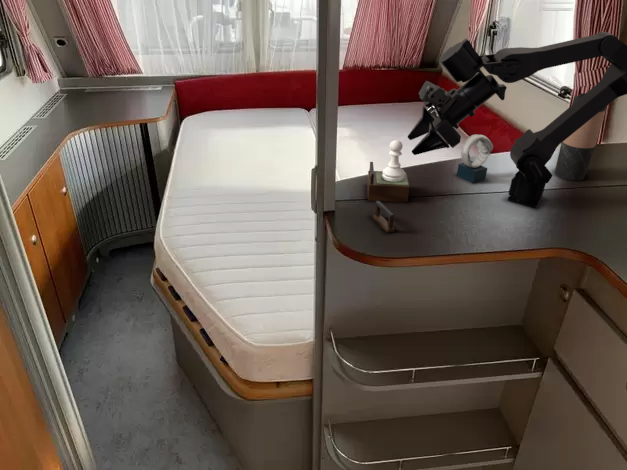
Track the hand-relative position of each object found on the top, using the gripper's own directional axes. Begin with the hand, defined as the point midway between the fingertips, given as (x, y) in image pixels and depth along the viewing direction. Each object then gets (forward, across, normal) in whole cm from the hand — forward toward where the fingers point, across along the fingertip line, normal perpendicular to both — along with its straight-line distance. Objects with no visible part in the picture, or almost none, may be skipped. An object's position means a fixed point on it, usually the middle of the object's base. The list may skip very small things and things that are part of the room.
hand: (410, 145), depth 118 cm
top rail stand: (+12, 0, +6) cm, 13 cm away
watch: (-4, -12, +21) cm, 24 cm away
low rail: (+13, +15, +4) cm, 20 cm away
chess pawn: (+8, 0, +3) cm, 9 cm away
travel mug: (-22, -16, +40) cm, 48 cm away
